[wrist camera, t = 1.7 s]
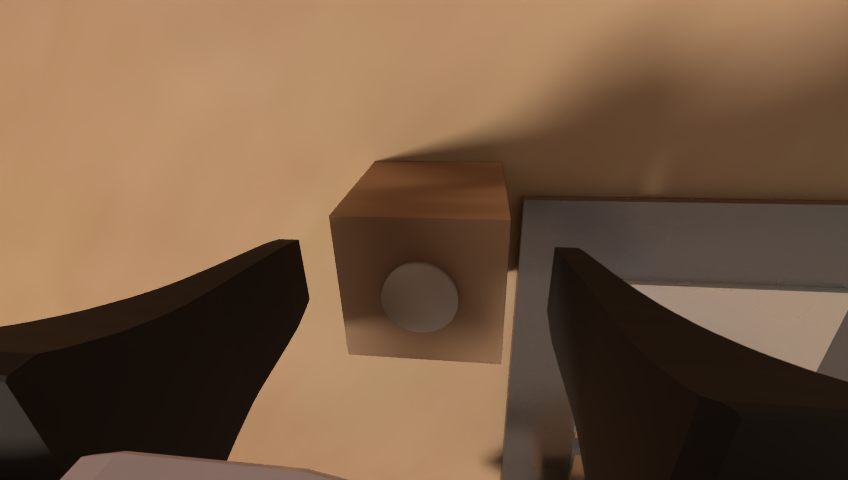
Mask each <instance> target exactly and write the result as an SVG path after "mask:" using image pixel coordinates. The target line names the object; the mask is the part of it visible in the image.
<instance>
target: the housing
mask: <svg viewBox="0 0 848 480" xmlns="http://www.w3.org/2000/svg"><path fill="white" fill-rule="evenodd" d="M329 220H330V227H331V234H332V241H333V248H334V255H335V262H336V269H337V276H338V283H339V290H340V297H341V304H342V311H343V318H344V325H345V332H346V339H347V346H348V353H349V354H351V355H366V356H382V357H397V358H413V359H428V360H444V361H459V362H475V363H490V364H501V358H502V343H503V329H504V314H505V300H506V285H507V271H508V256H509V241H510V227H511V217H510V211H509V204H508V198H507V192H506V185H505V179H504V173H503V166H502V162H440V161H375V162H374V163H373V164H372V165H371V167H370V168H369V169H368V170H367V171H366V173H365V174H364V175H363V176H362V177H361V178H360V180H359V181H358V182H357V183H356V184H355V186H354V187H353V188H352V189H351V190H350V192H349V193H348V194H347V195H346V196H345V197H344V199H343V200H342V201H341V202H340V203H339V205H338V206H337V207H336V208H335V209H334V211H333V212H332V213H331V214H330V215H329Z"/></svg>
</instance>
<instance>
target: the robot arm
mask: <svg viewBox="0 0 848 480" xmlns="http://www.w3.org/2000/svg"><path fill="white" fill-rule="evenodd" d="M308 302H309V293H308V288H307V283H306V277H305V272H304V266H303V261H302V255H301V250H300V245H299V240H284V239H278V240H275V241H271V242H269V243H266V244H263V245H261V246H259V247H256V248H254V249H252V250H249V251H247V252H245V253H243V254H240V255H238V256H236V257H234V258H232V259H229V260H227V261H225V262H223V263H221V264H218V265H216V266H214V267H211V268H209V269H207V270H204V271H202V272H199V273H197V274H195V275H192V276H190V277H187V278H185V279H183V280H180V281H178V282H175V283H172V284H170V285H167V286H164V287H161V288H159V289H156V290H153V291H150V292H147V293H144V294H141V295H137V296H134V297H131V298H128V299H124V300H120V301H117V302H113V303H109V304H106V305H102V306H98V307H95V308H91V309H87V310H83V311H79V312H74V313H70V314H66V315H61V316H57V317H52V318H47V319H42V320H37V321H32V322H26V323H21V324H15V325H9V326H3V327H0V480H347V479H343V478H340V477H336V476H332V475H329V474H325V473H321V472H317V471H314V470H310V469H304V468H294V467H284V466H274V465H264V464H254V463H243V462H233V461H227V459H228V457H229V454H230V452H231V450H232V447H233V445H234V443H235V440H236V438H237V436H238V434H239V432H240V429H241V427H242V425H243V423H244V421H245V419H246V417H247V415H248V412H249V410H250V408H251V406H252V404H253V402H254V400H255V398H256V397H257V395H258V393H259V391H260V389H261V388H262V386H263V384H264V383H265V381H266V380H267V378H268V376H269V375H270V373H271V371H272V370H273V368H274V366H275V365H276V363H277V361H278V360H279V358H280V357H281V355H282V353H283V352H284V350H285V348H286V347H287V345H288V343H289V342H290V340H291V338H292V337H293V335H294V333H295V331H296V330H297V328H298V326H299V324H300V321H301V319H302V317H303V315H304V312H305V309H306V307H307V304H308ZM547 314H548V322H549V329H550V336H551V342H552V345H553V349H554V352H555V356H556V359H557V363H558V366H559V370H560V373H561V377H562V380H563V383H564V387H565V390H566V394H567V397H568V400H569V404H570V407H571V411H572V414H573V418H574V422H575V427H576V431H577V437H578V442H579V448H580V453H581V459H582V465H583V470H584V477H585V480H848V382H847V381H844V380H841V379H837V378H834V377H830V376H827V375H824V374H820V373H817V372H814V371H811V370H808V369H805V368H803V367H800V366H797V365H794V364H791V363H789V362H786V361H783V360H780V359H777V358H774V357H772V356H769V355H766V354H764V353H761V352H759V351H756V350H754V349H751V348H749V347H746V346H744V345H741V344H739V343H737V342H735V341H732V340H730V339H728V338H725V337H723V336H721V335H718V334H716V333H714V332H712V331H710V330H708V329H705V328H703V327H701V326H699V325H697V324H695V323H693V322H691V321H690V320H688V319H686V318H684V317H682V316H680V315H678V314H676V313H674V312H673V311H671V310H669V309H667V308H665V307H664V306H662V305H660V304H659V303H657V302H655V301H654V300H652V299H651V298H649V297H648V296H646V295H644V294H643V293H641V292H640V291H638V290H637V289H635V288H634V287H632V286H631V285H629V284H628V283H626V282H625V281H624V280H622V279H621V278H619V277H618V276H617V275H615V274H614V273H613V272H611V271H610V270H608V269H607V268H606V267H604V266H603V265H602V264H601V263H599V262H598V261H597V260H595V259H594V258H593V257H591V256H590V255H589V254H587V253H586V252H584V251H583V250H581V249H580V248H569V247H555V249H554V257H553V265H552V273H551V281H550V289H549V297H548V305H547Z"/></svg>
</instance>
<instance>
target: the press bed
mask: <svg viewBox="0 0 848 480" xmlns="http://www.w3.org/2000/svg"><path fill="white" fill-rule="evenodd" d="M555 247H569V248H580V249H581V250H583V251H584V252H586V253H587V254H589V255H590V256H591V257H593V258H594V259H595V260H597V261H598V262H599V263H601V264H602V265H603V266H604V267H606V268H607V269H608V270H610V271H611V272H613V273H614V274H615V275H617V276H618V277H619V278H621V279H622V280H624V281H625V282H626V283H628V284H629V285H631V286H632V287H634V288H635V289H637V290H638V291H640V292H641V293H643V294H644V295H646V296H648V297H649V298H651V299H652V300H654V301H655V302H657V303H659V304H660V305H662V306H664V307H665V308H667V309H669V310H671V311H673V312H674V313H676V314H678V315H680V316H682V317H684V318H686V319H688V320H690V321H691V322H693V323H695V324H697V325H699V326H701V327H703V328H705V329H708V330H710V331H712V332H714V333H716V334H718V335H721V336H723V337H725V338H728V339H730V340H732V341H735V342H737V343H739V344H741V345H744V346H746V347H749V348H751V349H754V350H756V351H759V352H761V353H764V354H766V355H769V356H772V357H774V358H777V359H780V360H783V361H786V362H789V363H791V364H794V365H797V366H800V367H803V368H805V369H808V370H811V371H814V372H817V373H820V374H824V375H827V376H830V377H834V378H837V379H841V380H844V381H847V382H848V201H828V200H760V199H691V198H623V197H555V196H523V206H522V218H521V230H520V243H519V255H518V268H517V280H516V292H515V305H514V317H513V330H512V342H511V354H510V367H509V379H508V392H507V404H506V416H505V429H504V441H503V453H502V466H501V478H500V480H585V477H584V470H583V465H582V459H581V453H580V448H579V442H578V437H577V431H576V427H575V422H574V418H573V414H572V411H571V407H570V404H569V400H568V397H567V394H566V390H565V387H564V383H563V380H562V377H561V373H560V370H559V366H558V363H557V359H556V356H555V352H554V349H553V345H552V342H551V336H550V329H549V322H548V314H547V305H548V297H549V289H550V281H551V273H552V265H553V257H554V249H555Z"/></svg>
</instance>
